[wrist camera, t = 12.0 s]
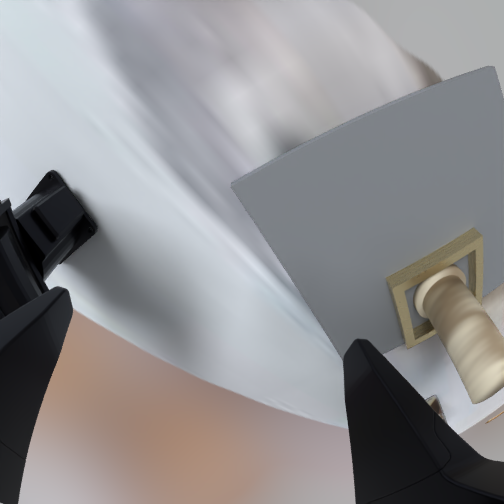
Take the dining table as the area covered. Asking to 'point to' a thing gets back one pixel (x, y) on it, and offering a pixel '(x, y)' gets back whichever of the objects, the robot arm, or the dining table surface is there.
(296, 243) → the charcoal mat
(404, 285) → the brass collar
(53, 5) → the dining table surface
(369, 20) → the dining table surface
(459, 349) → the disc
